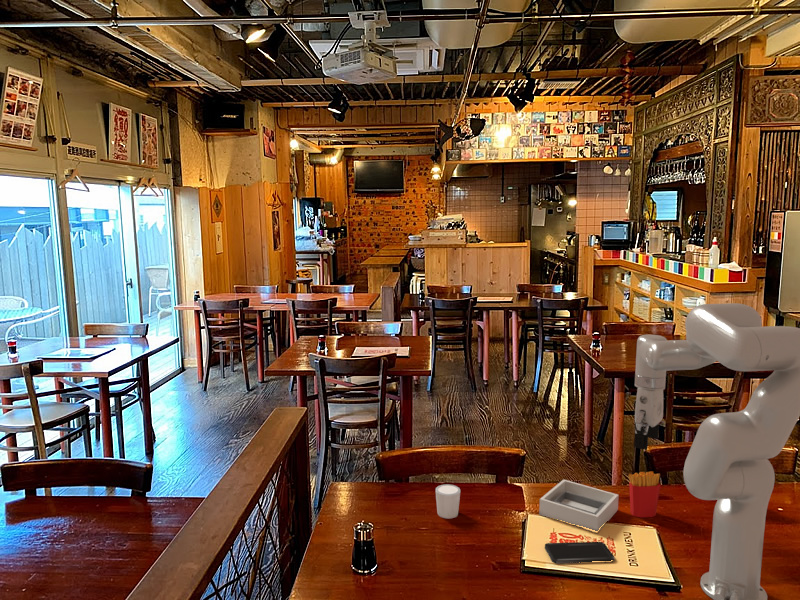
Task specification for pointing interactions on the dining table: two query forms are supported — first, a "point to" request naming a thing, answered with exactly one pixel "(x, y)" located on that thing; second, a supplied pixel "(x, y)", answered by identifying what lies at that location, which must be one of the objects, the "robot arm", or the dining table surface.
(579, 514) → the walled box
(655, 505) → the french fries
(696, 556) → the dining table surface
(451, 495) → the shot glass
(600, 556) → the phone
